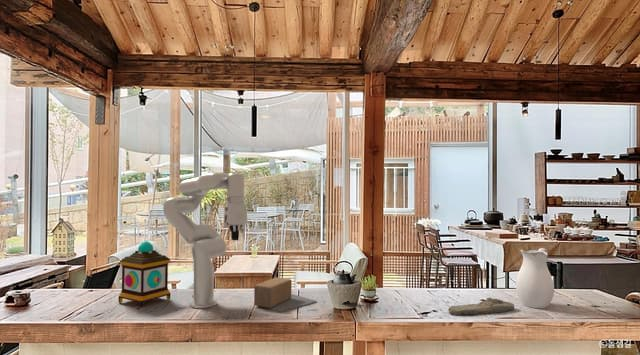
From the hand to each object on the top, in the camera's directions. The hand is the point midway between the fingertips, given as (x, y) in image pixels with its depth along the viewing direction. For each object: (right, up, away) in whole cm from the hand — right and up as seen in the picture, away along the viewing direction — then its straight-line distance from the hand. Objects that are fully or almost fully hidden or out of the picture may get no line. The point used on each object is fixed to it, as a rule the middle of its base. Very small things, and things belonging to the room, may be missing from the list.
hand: (235, 239), depth 191 cm
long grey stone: (+116, -35, +5) cm, 121 cm away
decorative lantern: (-48, -33, +15) cm, 60 cm away
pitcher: (+149, -35, +18) cm, 154 cm away
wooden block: (+12, -28, +5) cm, 31 cm away
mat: (+23, -34, +15) cm, 43 cm away
